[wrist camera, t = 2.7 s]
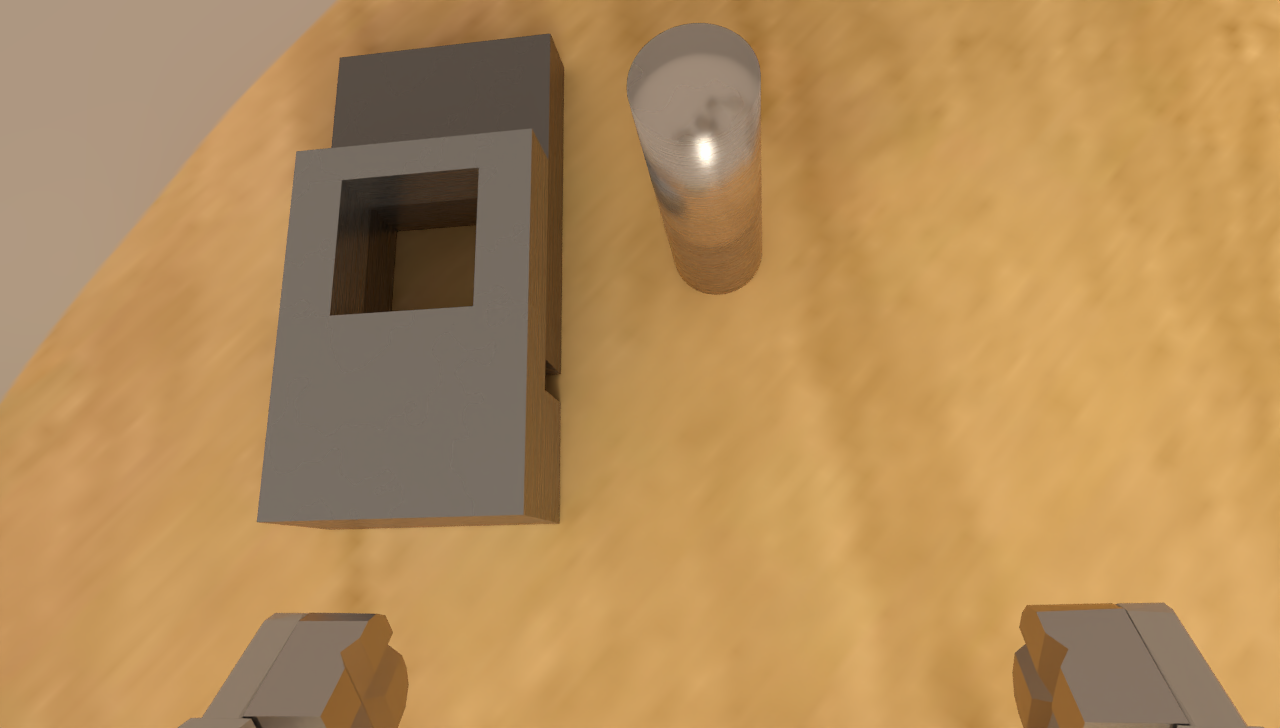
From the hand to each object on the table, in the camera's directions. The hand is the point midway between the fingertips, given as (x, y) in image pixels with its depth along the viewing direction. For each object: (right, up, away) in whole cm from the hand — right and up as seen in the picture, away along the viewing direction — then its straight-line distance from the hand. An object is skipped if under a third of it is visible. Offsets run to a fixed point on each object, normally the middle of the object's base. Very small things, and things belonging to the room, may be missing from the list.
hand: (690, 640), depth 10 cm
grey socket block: (-7, +6, +18) cm, 21 cm away
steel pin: (+2, +7, +17) cm, 19 cm away
